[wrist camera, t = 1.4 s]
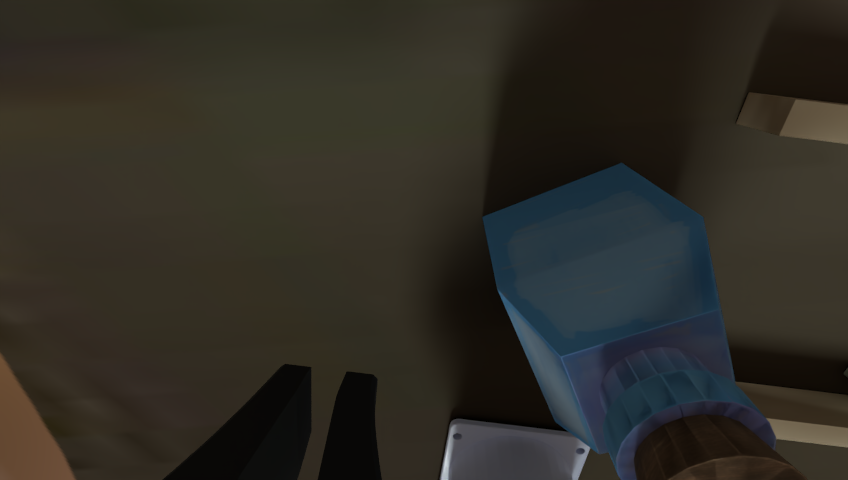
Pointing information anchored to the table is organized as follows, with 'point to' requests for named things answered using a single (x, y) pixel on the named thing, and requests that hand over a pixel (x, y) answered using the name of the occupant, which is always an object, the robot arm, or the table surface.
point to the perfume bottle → (629, 329)
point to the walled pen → (839, 413)
